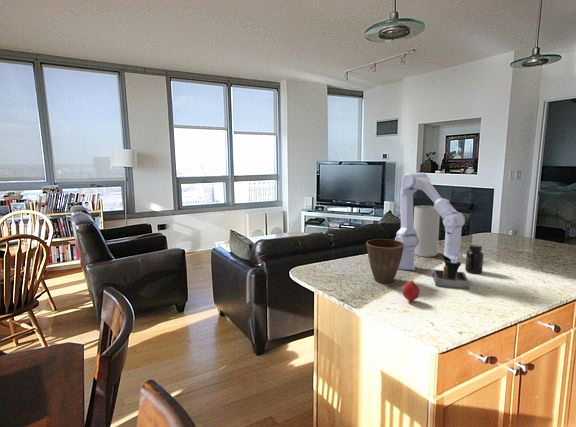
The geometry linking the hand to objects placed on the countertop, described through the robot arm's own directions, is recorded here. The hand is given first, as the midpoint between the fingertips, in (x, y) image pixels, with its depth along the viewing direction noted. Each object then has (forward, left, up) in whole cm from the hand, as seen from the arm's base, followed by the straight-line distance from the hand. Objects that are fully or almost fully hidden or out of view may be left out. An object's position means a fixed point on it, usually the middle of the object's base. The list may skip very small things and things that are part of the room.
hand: (450, 275), depth 145 cm
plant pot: (-26, -5, -3) cm, 27 cm away
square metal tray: (0, 0, -3) cm, 3 cm away
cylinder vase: (-7, +43, -3) cm, 44 cm away
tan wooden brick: (0, 0, -2) cm, 2 cm away
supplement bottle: (+12, +18, -3) cm, 22 cm away
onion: (-16, -25, -3) cm, 30 cm away
